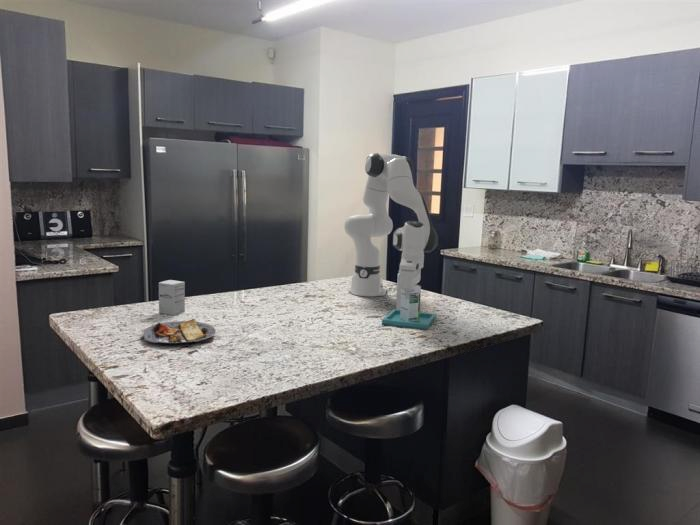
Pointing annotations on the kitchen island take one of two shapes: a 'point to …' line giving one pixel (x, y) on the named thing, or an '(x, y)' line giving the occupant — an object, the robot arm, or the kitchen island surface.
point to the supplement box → (171, 297)
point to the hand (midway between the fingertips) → (410, 296)
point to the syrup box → (411, 305)
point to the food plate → (186, 330)
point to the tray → (423, 322)
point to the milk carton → (398, 291)
